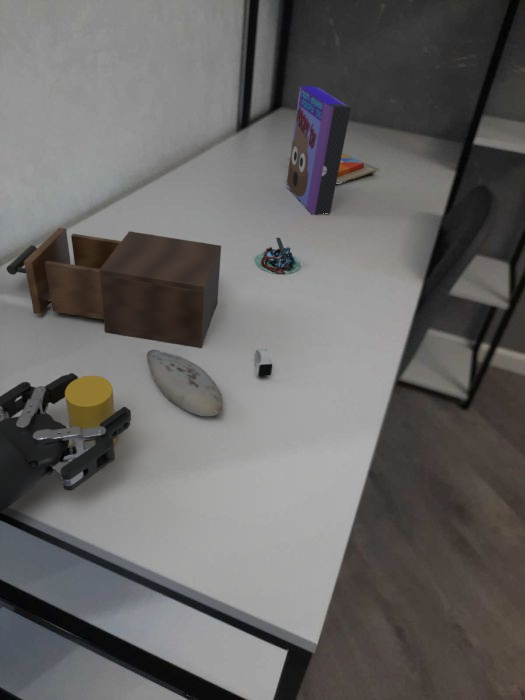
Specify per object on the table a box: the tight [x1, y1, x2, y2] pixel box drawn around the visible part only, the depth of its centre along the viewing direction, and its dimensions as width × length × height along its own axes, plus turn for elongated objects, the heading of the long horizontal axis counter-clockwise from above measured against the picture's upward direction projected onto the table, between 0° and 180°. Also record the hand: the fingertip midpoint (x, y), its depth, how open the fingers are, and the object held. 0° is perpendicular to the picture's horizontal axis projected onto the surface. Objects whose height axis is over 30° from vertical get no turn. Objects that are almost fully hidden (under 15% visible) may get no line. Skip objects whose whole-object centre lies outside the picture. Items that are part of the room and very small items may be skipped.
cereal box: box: [286, 85, 352, 215], centre depth 122 cm, size 17×5×24 cm, turn 18°
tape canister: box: [64, 375, 118, 446], centre depth 60 cm, size 5×5×8 cm
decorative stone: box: [145, 349, 223, 417], centre depth 69 cm, size 6×16×3 cm, turn 45°
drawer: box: [6, 227, 122, 320], centre depth 80 cm, size 18×12×9 cm, turn 83°
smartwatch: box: [253, 348, 274, 377], centre depth 74 cm, size 4×2×4 cm, turn 13°
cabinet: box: [99, 230, 222, 349], centre depth 80 cm, size 15×13×11 cm
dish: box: [254, 236, 301, 275], centre depth 102 cm, size 8×7×8 cm
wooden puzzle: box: [336, 153, 376, 183], centre depth 148 cm, size 18×19×4 cm
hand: (101, 396), depth 59 cm, fingers open, 8 cm apart
